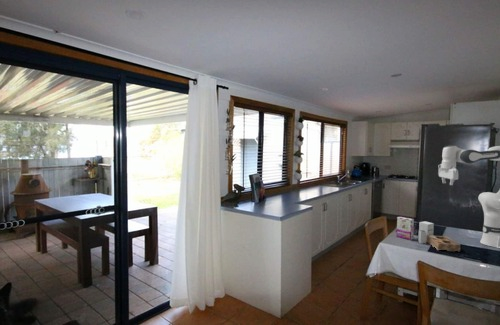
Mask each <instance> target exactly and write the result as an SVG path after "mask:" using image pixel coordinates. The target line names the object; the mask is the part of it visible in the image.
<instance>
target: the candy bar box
mask: <svg viewBox="0 0 500 325" xmlns="http://www.w3.org/2000/svg"><path fill="white" fill-rule="evenodd" d="M414 224H415V219H414V218H409V217H404V216H397V217H396V238H400V239H405V240H409V241H412V240H414V230H415V228H414Z"/></svg>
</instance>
